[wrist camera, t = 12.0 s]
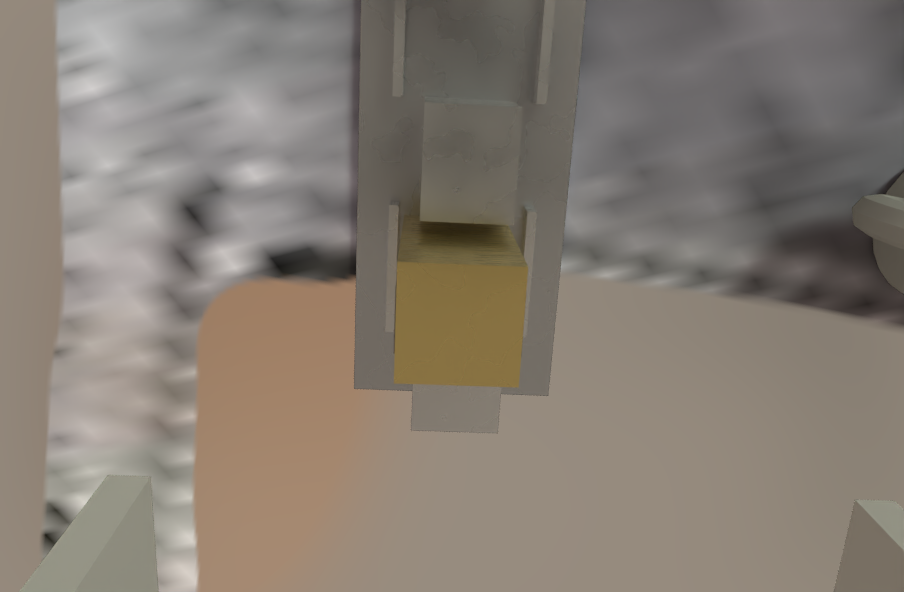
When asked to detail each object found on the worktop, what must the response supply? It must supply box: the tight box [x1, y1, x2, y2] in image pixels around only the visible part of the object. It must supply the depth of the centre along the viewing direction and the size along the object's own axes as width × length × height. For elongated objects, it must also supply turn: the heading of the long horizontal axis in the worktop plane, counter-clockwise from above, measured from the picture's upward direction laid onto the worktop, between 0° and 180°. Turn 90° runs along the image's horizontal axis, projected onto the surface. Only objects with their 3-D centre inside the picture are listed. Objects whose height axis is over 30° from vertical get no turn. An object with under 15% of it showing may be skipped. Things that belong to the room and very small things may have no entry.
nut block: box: [393, 215, 528, 388], centre depth 31 cm, size 4×4×8 cm
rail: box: [354, 0, 586, 433], centre depth 32 cm, size 22×9×5 cm, turn 177°
